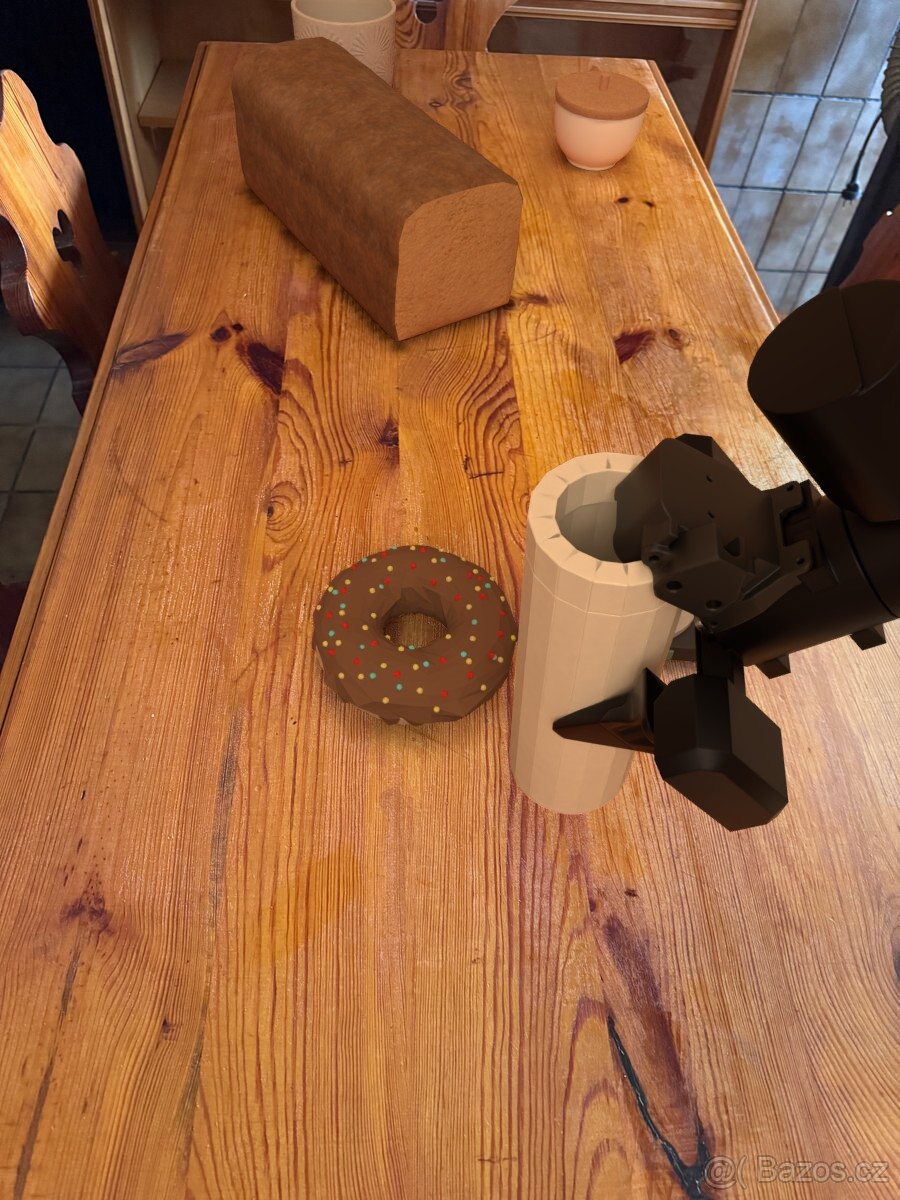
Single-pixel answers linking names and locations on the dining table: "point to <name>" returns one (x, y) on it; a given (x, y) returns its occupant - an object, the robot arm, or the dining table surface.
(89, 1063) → the dining table surface
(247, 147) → the bread
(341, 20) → the planter
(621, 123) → the trinket box
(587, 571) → the canister
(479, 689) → the donut
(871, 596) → the robot arm
